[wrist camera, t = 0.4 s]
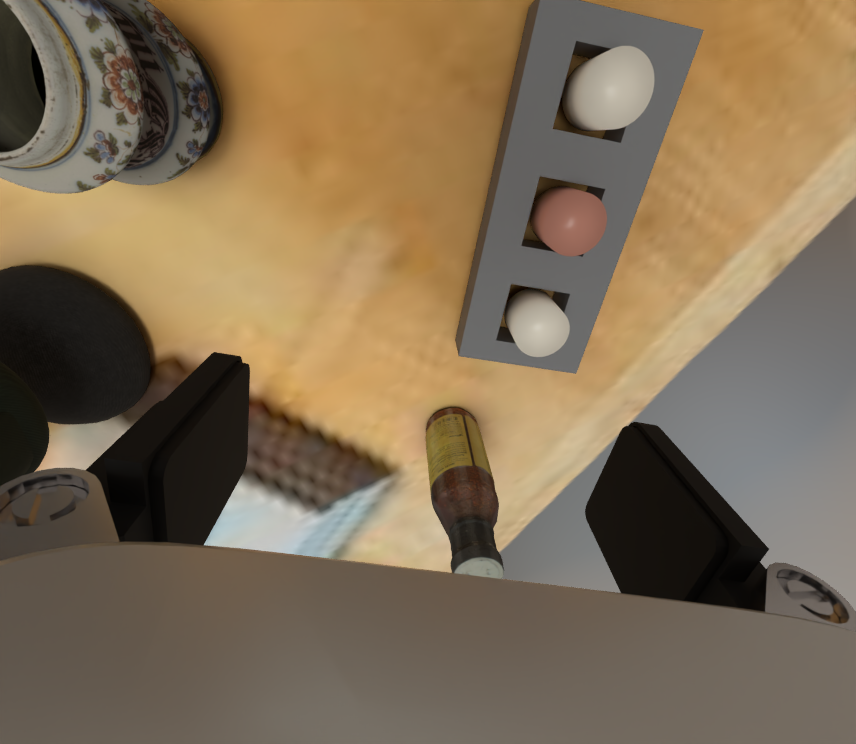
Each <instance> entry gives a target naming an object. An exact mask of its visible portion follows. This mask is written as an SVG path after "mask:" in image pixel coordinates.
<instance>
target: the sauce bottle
mask: <svg viewBox="0 0 856 744" xmlns="http://www.w3.org/2000/svg"><path fill="white" fill-rule="evenodd" d="M426 450H427V459H428V470H429V480H430V491H431V499H432V505H433V508H434V510H435V512H436V514H437V516H438V518H439V520H440V522H441V524H442V526H443V527H444V529H445V531H446V533H447V535H448V537H449V540H450V543H451V551H452V560H451V569H452V573H457V574H465V575H473V576H482V577H490V578H498V579H502V577H503V574H504V568H503V562H502V559H501V555H500V554H499V552H498V551H497V549H496V544H495V540H494V531H493V528H494V526H495V524H496V522H497V516H498V508H499V503H498V498H497V495H496V492H495V486H494V480H493V476H492V473H491V469H490V465H489V462H488V458H487V454H486V451H485V448H484V444H483V440H482V437H481V433H480V430H479V427H478V425H477V423H476V420H475V419H474V418H473V417H472V416H471V414H469V413H468V412H466V411H464V410H462V409H460V408H448V409H443V410H441V411H438V412H437V413H435V414H434V415H433V416H432V417H431V419H430V420H429V422H428V424H427V428H426Z"/></svg>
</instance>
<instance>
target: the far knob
mask: <svg viewBox="0 0 856 744" xmlns="http://www.w3.org/2000/svg"><path fill="white" fill-rule="evenodd" d="M504 318H505V322H506V325H507V327H508V329H509V331H510V333H511V335H512V337H513V339H514V341H515V343H516V345H517V346H518V348H519V349H520V350H521V351H522V352H523V353H525V354H527V355H529V356H533V357H544V356H548V355H551V354H553V353H555V352H556V351H558V350H559V349H560V348H561V347H562V346H563V345H564V343H565V342H566V340H567V338H568V336H569V331H570V325H569V321H568V318H567V316H566V315H565V314H564V312H563V311H562V310H561V309H560V308H559V307H558V306H557V304H556V303H555V302H554V301H553V300H552V299H551V297H550V296H549V295H548V294H547V293H545V292H544V291H541V290H539V289H525V290H522V291H520V292H518V293H516V294H515V295H514V296H513V297H512V298H511V299H510V300H509V302H508V303H507V305H506V308H505V312H504Z"/></svg>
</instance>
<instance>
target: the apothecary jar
mask: <svg viewBox="0 0 856 744" xmlns="http://www.w3.org/2000/svg"><path fill="white" fill-rule="evenodd" d="M222 117H223V108H222V99H221V94H220V91H219V87H218V84H217V82H216V79H215V77H214V75H213V73H212V71H211V69H210V67H209V65H208V64H207V62H206V61H205V59H204V58H203V56H202V55H201V54H200V52H199V51H198V50H197V49H196V48H195V47H194V46H193V45H192V44H191V43H190V42H189V41H188V40H187V39H186V38H185V37H183V36H182V34H181V33H180V32H179V31H178V29H177V28H176V27H175V26H174V25H173V23H172V22H171V21H170V20H169V19H168V18H167V17H166V16H165V15H164V14H163V13H162V12H160V11H159V10H158V9H157V8H156V7H155V6H153V5H152V4H151V3H149V2H148V1H147V0H0V178H2V179H5V180H7V181H10V182H12V183H15V184H17V185H20V186H23V187H26V188H30V189H34V190H38V191H43V192H50V193H78V192H83V191H87V190H91V189H93V188H96V187H98V186H101V185H103V184H104V183H106V182H108V181H110V180H112V179H113V180H116V181H119V182H123V183H128V184H135V185H153V184H159V183H164V182H167V181H170V180H172V179H175V178H176V177H178V176H180V175H181V174H183V173H184V172H186V171H187V170H188V169H189V168H190V167H191V166H192V165H193V164H194V163H195V162H196V161H197V160H199V159H200V158H202V157H204V156H205V155H206V154H207V153H208V152H209V151H210V150H211V149H212V147H213V146H214V144H215V143H216V141H217V139H218V137H219V134H220V130H221V125H222Z"/></svg>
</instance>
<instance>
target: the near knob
mask: <svg viewBox="0 0 856 744" xmlns="http://www.w3.org/2000/svg"><path fill="white" fill-rule="evenodd" d="M653 89H654V70H653V67H652V64H651V62H650V60H649V58H648V57H647V55H646V54H645V53H644V52H642V51H641V50H640V49H638V48H635V47H632V46H619V47H616V48H613V49H611V50H609V51H606V52H604V53H602V54H600V55H598V56H596V57H594V58H592V59H590V60H588V61H586V62H584V63H582V64H581V65H579V66H578V67H577V68H576V69H575V70H574V71H573V72H572V74H571V75H570V77H569V78H568V80H567V82H566V84H565V87H564V91H563V98H562V104H563V110H564V113H565V116H566V118H567V120H568V121H569V122H570V123H571V124H572V125H573V126H574V127H575V128H577V129H579V130H583V131H597V130H612V129H619V128H623V127H625V126H627V125H629V124H631V123H632V122H634V121H635V120H636V119H637V118H638V117H639V116H640V115H641V114H642V113H643V112H644V110H645V109H646V107H647V105H648V103H649V101H650V99H651V97H652V93H653Z"/></svg>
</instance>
